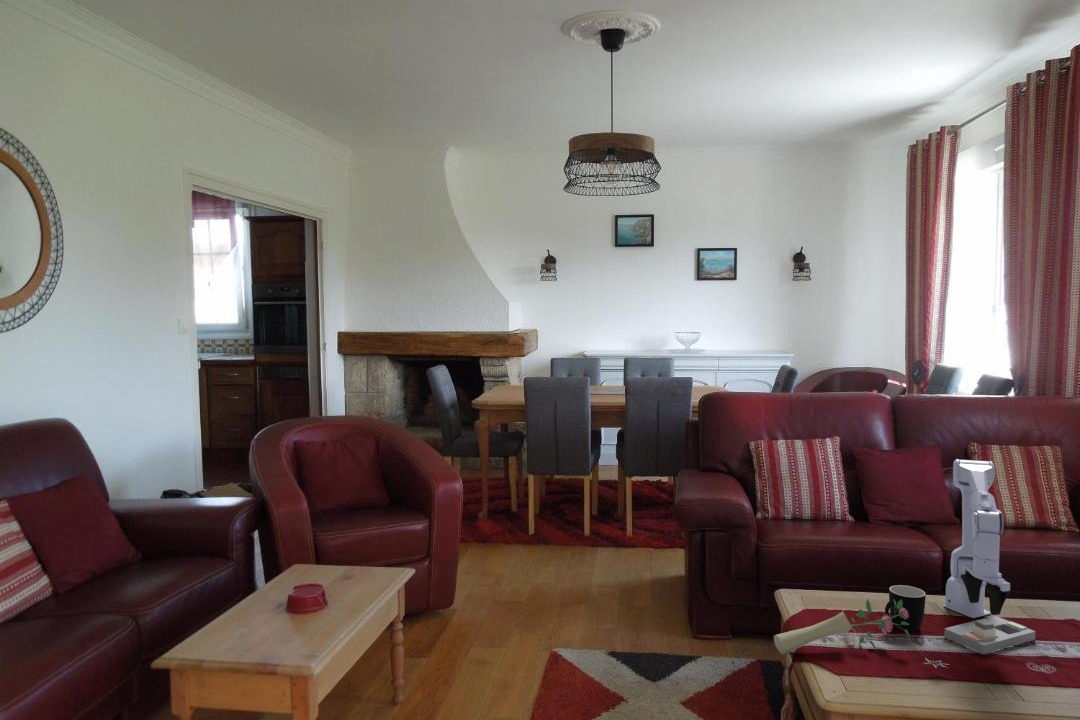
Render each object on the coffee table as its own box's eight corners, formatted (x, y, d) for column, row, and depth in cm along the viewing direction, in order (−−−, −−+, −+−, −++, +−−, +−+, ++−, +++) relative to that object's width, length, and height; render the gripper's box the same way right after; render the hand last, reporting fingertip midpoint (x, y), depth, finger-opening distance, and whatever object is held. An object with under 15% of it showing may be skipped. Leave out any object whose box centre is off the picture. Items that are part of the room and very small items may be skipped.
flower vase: (779, 675, 191) (896, 634, 198) (801, 683, 180) (925, 640, 186) (764, 629, 194) (880, 590, 200) (785, 634, 182) (907, 593, 188)
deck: (944, 637, 196) (944, 626, 196) (994, 624, 204) (995, 614, 204) (983, 654, 186) (983, 643, 186) (1035, 640, 194) (1035, 629, 194)
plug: (972, 642, 193) (973, 620, 193) (983, 641, 194) (984, 618, 193) (983, 648, 189) (984, 625, 189) (995, 647, 190) (995, 624, 190)
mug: (905, 618, 209) (906, 583, 208) (932, 630, 200) (933, 594, 200) (872, 624, 204) (873, 589, 204) (898, 637, 196) (899, 600, 195)
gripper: (1021, 565, 184) (1020, 618, 184) (979, 547, 198) (978, 596, 199) (996, 567, 183) (994, 620, 184) (955, 548, 197) (954, 598, 198)
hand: (984, 608), depth 191 cm, fingers open, 7 cm apart
